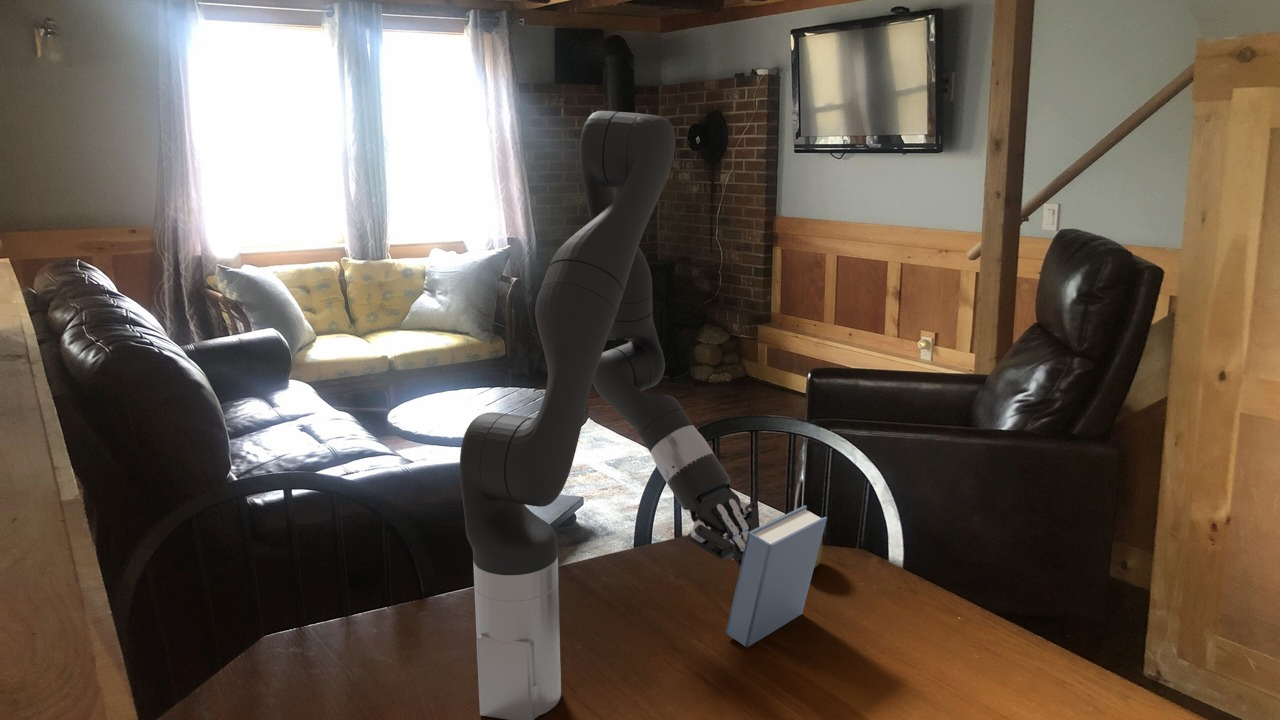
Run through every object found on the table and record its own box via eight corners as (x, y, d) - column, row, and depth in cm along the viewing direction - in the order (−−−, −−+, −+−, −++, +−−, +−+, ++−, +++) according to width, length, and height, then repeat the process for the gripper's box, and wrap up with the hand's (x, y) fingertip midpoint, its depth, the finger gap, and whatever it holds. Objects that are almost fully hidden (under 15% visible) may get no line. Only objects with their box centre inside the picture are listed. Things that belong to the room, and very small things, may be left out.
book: (802, 613, 128) (827, 517, 122) (746, 647, 119) (770, 546, 114) (781, 600, 130) (804, 505, 124) (725, 632, 122) (748, 532, 116)
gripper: (671, 464, 122) (745, 583, 117) (735, 441, 132) (807, 550, 126) (641, 493, 127) (711, 608, 122) (705, 469, 136) (773, 574, 131)
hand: (760, 578), depth 124 cm, fingers closed
